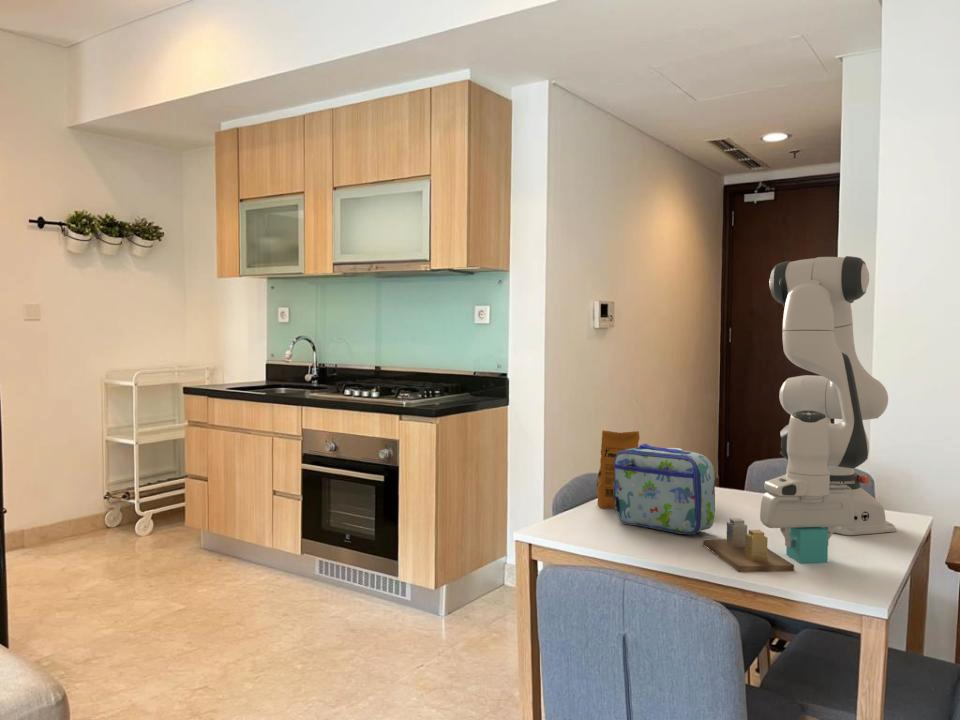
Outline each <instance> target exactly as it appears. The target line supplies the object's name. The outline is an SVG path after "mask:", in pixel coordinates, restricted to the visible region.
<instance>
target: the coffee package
mask: <svg viewBox="0 0 960 720" xmlns="http://www.w3.org/2000/svg"><path fill="white" fill-rule="evenodd" d="M639 440H640V431H639V430H635V431H625V432H618V431H617V432H616V431H611V430H604V429H602V432H601V446H600V455H601V456H600V461H599V462H600V463H599V464H600V465H599V466H600V467H599V470H598V474H597V478H596V496H597V497H596V498H597V506H598V507H599V508H600V509H615V501H613V492H614V485H613V483H614V477H615V470H614V460H615V456H616V454H617V453H618V452H619V451H621V450H627V449H633V448H636V447H639Z"/></svg>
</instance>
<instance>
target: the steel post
mask: <svg viewBox="0 0 960 720" xmlns="http://www.w3.org/2000/svg"><path fill="white" fill-rule="evenodd" d="M745 534H748V525H747V524H746V523H745V520H743V519H742V518H739V517H737V518H735V517H733V518H729V521H726V539H727V544H728V545H730V546H731V547H732V548H738V547H745Z"/></svg>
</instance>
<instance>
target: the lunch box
mask: <svg viewBox="0 0 960 720" xmlns="http://www.w3.org/2000/svg"><path fill="white" fill-rule="evenodd" d="M669 448H670V447H658V446H651V445H650V444H647V443H642V444H640V445H639V444H638V447H636V448H633V449H627V450H621V451H619V452H618V453H617V454H616V456H615V460H614V470H615V477H614V483H613V485H614V492H613V501H615V508H614V510H615V512H616V515H617V517H618V519H619V521H620V523H622V524H624V525H630V524H631V525H630V526H638V527H643V528H648V529H653V530H658V531H664V532H669V533H675V534H680V535H688V536H689V535H690V536H692V535H696V534H697V533H699V532H702V531H705V530H709V529H710V528H711V527H713V525H714V521H715V516H716V515H715V513H716V508H715V507H716V493H715V492H716V490H715V489H716V488H715V486H716V485H715V471H714V470H715V469H714V465H713V463H712V462H711V460H710V459H709V458H708V457H707V456H705V455H703V454H701V453H698V452H694V451H689V450H683V449H682V450H677V449H669Z"/></svg>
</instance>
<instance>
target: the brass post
mask: <svg viewBox="0 0 960 720" xmlns="http://www.w3.org/2000/svg"><path fill="white" fill-rule="evenodd" d="M767 548H768V537H767V536H766V535H765V532H764V531H763V530H761V529H748V533H747V534H745V557H747V558H748V559H750V560H751V561H767Z"/></svg>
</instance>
